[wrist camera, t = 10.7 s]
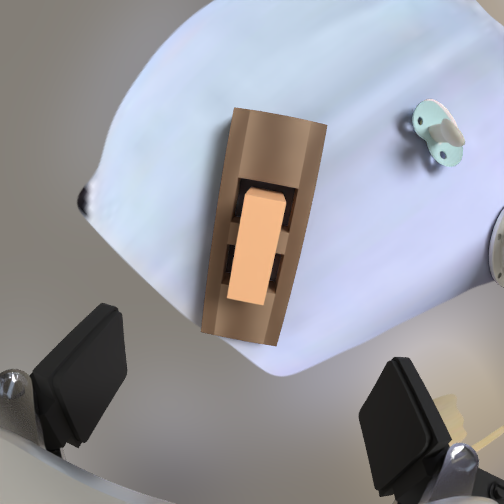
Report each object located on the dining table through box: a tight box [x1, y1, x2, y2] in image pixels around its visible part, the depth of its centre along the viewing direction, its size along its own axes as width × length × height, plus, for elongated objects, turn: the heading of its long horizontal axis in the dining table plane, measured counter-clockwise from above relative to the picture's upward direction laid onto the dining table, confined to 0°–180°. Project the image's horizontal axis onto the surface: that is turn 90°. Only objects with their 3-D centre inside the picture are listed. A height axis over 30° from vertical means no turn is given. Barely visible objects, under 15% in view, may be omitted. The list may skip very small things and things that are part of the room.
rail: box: [201, 108, 327, 346], centre depth 27 cm, size 8×22×3 cm, turn 170°
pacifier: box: [412, 99, 465, 167], centre depth 21 cm, size 7×6×6 cm
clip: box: [227, 186, 286, 305], centre depth 25 cm, size 3×8×7 cm, turn 169°
